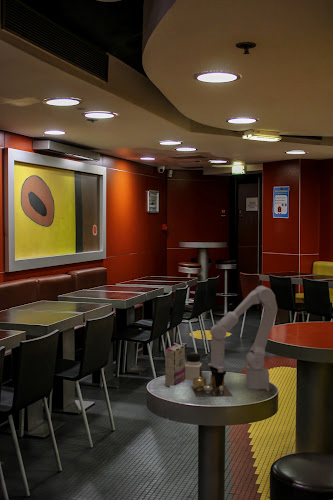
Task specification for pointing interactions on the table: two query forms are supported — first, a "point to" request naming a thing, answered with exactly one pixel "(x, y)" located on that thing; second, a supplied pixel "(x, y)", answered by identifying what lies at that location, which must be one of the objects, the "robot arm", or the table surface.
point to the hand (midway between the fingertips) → (217, 385)
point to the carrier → (208, 389)
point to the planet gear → (212, 382)
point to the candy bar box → (174, 365)
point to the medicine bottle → (193, 366)
